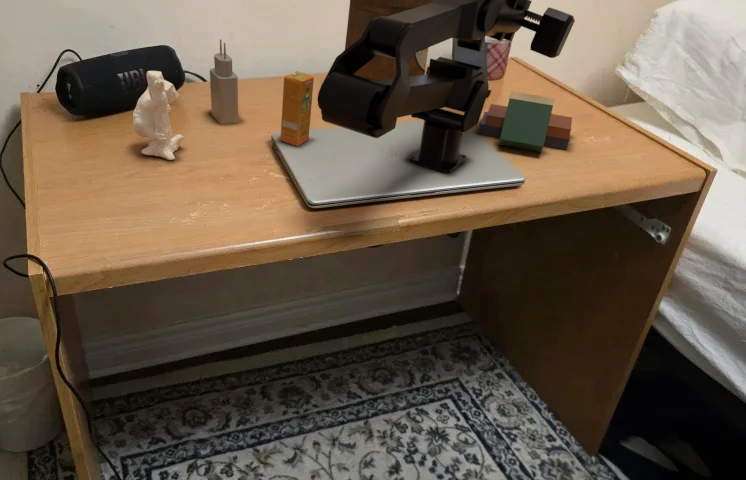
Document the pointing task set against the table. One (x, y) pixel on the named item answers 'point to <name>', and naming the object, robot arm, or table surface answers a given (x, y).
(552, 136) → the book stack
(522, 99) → the tea box
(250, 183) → the table surface
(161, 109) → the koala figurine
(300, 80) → the supplement box
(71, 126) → the table surface
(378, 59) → the wooden container
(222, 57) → the power adapter
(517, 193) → the table surface
